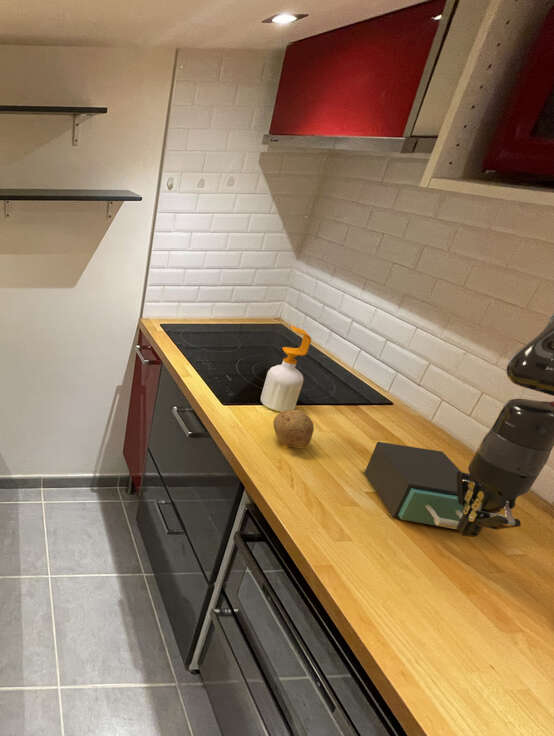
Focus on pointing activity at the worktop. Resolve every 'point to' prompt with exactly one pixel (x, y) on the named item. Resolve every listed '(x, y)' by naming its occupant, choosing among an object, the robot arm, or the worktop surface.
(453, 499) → the teal drawer
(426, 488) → the dark grey drawer cabinet
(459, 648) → the worktop surface
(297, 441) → the brown potato
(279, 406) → the soap bottle
